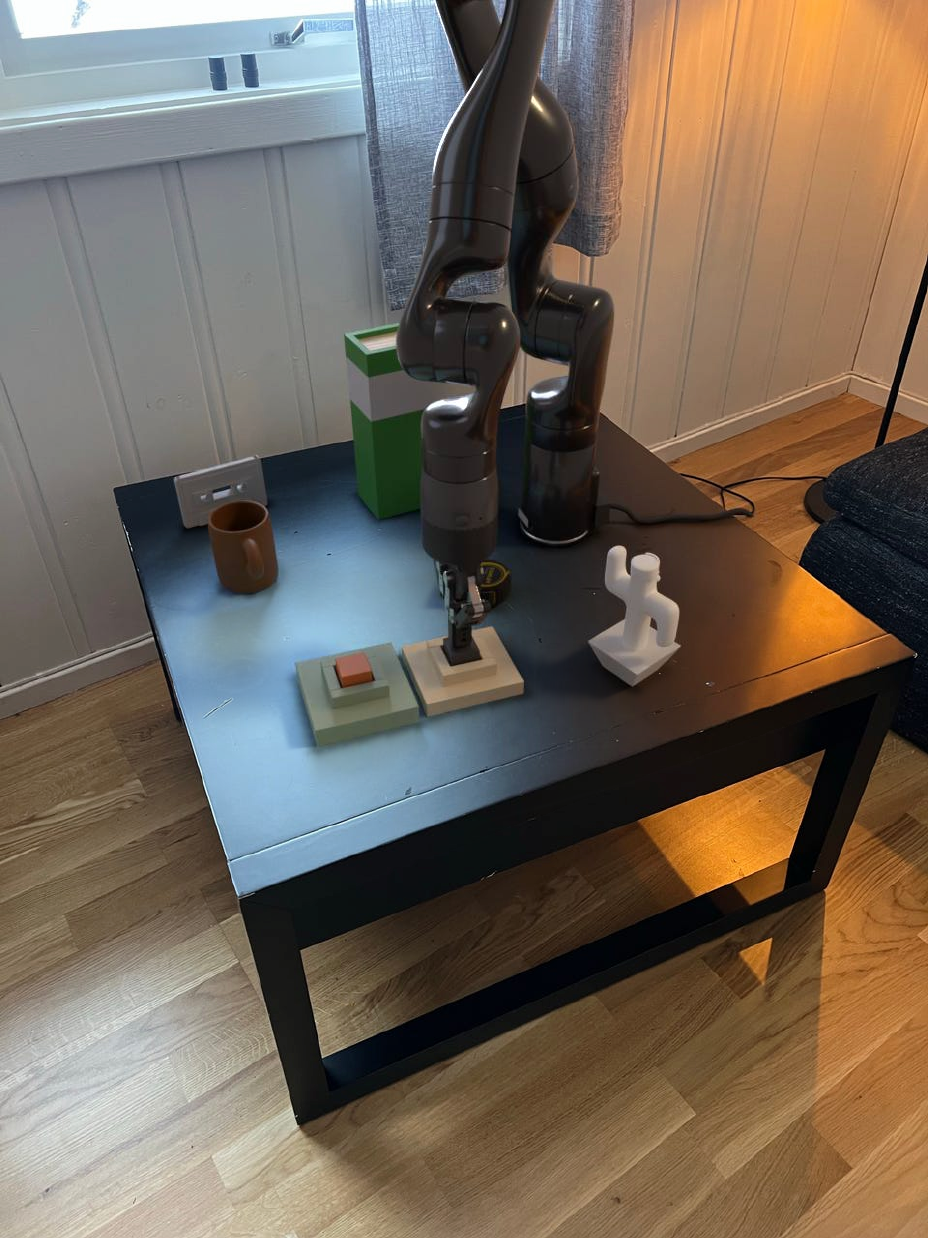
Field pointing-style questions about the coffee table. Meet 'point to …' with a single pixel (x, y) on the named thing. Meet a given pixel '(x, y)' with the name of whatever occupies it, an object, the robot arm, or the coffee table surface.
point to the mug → (243, 546)
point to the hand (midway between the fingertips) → (459, 642)
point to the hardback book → (388, 420)
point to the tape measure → (495, 582)
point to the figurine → (637, 619)
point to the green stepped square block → (356, 696)
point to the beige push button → (461, 674)
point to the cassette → (217, 477)
